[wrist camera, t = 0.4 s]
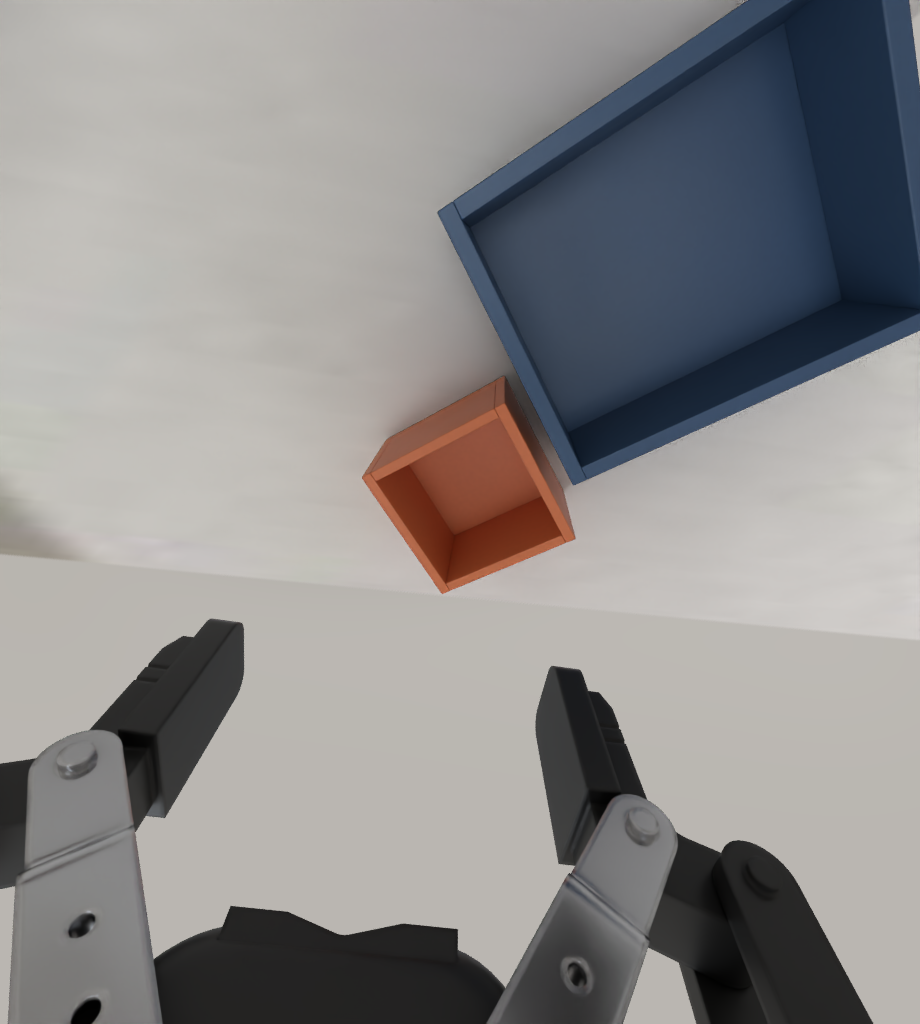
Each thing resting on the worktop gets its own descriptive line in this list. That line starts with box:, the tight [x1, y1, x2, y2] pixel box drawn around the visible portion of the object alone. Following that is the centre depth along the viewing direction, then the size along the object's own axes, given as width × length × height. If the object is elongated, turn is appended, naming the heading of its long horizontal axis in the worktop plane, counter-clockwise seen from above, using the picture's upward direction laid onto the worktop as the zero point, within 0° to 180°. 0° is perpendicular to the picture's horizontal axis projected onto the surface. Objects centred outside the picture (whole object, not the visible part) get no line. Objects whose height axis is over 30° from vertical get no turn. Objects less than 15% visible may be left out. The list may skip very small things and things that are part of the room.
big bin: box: [438, 0, 920, 485], centre depth 24 cm, size 18×15×7 cm
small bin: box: [362, 376, 575, 594], centre depth 30 cm, size 9×9×6 cm
